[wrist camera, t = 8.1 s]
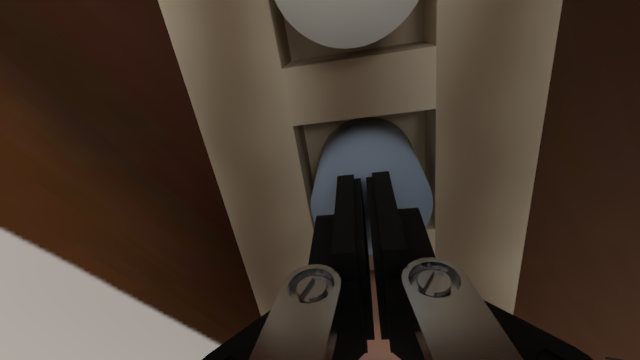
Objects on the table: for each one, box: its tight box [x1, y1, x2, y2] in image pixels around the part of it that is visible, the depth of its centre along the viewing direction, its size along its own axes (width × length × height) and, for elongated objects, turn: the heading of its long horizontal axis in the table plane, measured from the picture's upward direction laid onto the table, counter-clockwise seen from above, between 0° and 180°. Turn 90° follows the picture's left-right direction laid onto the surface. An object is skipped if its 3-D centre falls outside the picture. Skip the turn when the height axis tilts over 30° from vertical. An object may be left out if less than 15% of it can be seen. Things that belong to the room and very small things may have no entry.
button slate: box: [311, 117, 433, 255], centre depth 13 cm, size 4×4×4 cm
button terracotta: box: [359, 270, 401, 360], centre depth 16 cm, size 4×4×4 cm
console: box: [158, 0, 563, 316], centre depth 14 cm, size 12×22×3 cm, turn 9°
